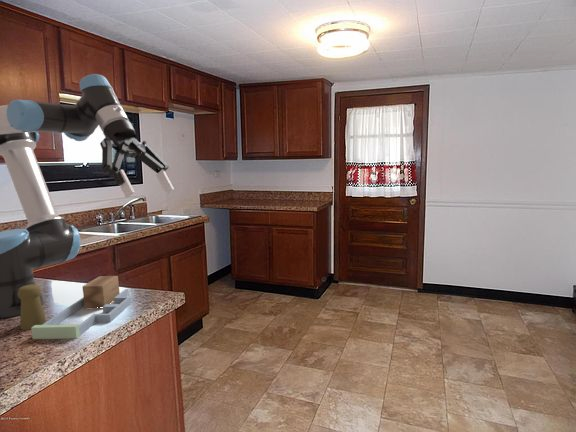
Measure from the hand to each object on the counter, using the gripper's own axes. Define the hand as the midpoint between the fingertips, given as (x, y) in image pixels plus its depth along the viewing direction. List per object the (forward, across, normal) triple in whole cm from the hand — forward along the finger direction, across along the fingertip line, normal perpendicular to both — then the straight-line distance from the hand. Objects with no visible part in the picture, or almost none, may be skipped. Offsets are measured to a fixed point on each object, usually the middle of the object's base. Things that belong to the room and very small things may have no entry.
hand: (151, 193), depth 100 cm
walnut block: (+14, +4, +41) cm, 44 cm away
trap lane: (+17, -4, +37) cm, 41 cm away
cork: (+13, -15, +44) cm, 49 cm away
